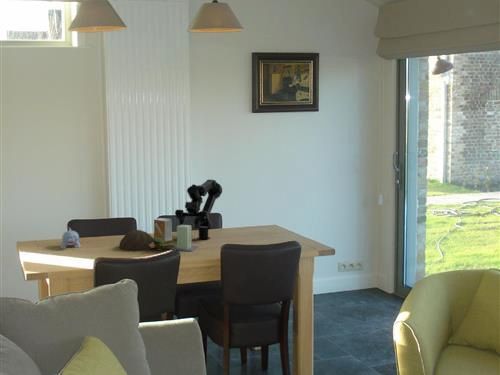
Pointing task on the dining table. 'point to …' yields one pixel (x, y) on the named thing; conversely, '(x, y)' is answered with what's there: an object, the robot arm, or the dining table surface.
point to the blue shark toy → (70, 239)
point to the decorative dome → (136, 241)
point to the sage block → (184, 236)
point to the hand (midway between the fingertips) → (188, 227)
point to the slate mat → (185, 249)
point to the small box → (163, 228)
